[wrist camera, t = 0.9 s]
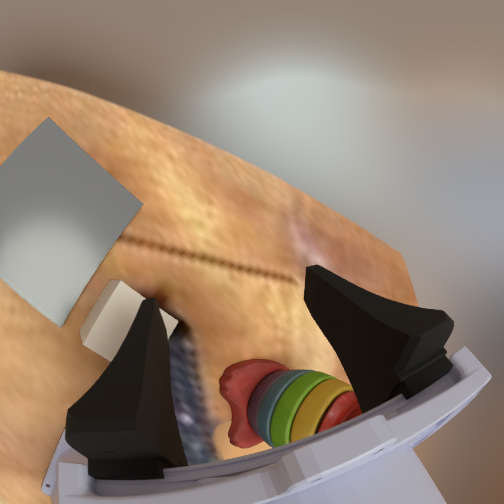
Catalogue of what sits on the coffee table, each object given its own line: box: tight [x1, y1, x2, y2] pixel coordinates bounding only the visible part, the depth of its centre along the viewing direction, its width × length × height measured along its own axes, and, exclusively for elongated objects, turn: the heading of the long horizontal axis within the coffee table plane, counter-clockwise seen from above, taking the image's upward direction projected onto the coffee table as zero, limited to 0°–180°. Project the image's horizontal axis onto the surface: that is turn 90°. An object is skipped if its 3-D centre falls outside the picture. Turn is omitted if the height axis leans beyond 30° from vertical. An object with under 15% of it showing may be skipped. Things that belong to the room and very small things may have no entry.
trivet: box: [0, 117, 143, 328], centre depth 17 cm, size 12×12×1 cm
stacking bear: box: [220, 359, 362, 448], centre depth 22 cm, size 11×10×18 cm
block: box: [79, 280, 178, 362], centre depth 18 cm, size 5×5×5 cm
